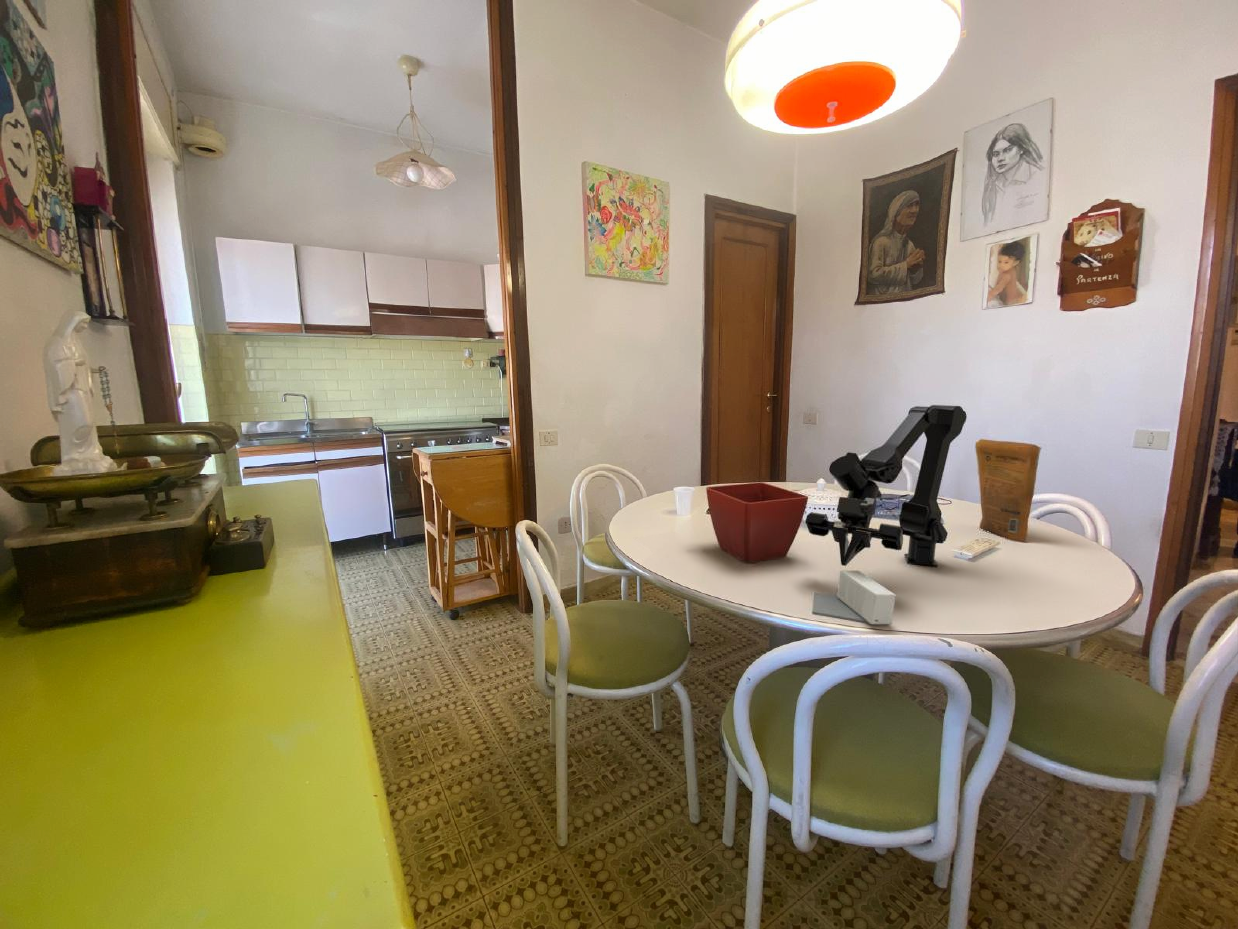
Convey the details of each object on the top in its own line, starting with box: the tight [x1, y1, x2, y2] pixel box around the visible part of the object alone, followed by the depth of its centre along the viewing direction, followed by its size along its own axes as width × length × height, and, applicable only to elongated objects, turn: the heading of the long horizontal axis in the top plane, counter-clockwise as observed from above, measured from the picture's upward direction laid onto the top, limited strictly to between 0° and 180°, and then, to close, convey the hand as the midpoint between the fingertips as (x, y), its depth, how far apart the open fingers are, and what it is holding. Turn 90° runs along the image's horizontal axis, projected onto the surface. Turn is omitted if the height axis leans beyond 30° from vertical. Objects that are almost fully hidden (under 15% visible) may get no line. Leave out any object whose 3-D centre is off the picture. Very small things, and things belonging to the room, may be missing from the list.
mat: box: [812, 591, 870, 624], centre depth 98 cm, size 10×11×1 cm
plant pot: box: [705, 482, 809, 563], centre depth 129 cm, size 19×19×17 cm
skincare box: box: [836, 569, 897, 625], centre depth 96 cm, size 6×4×12 cm
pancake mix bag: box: [974, 438, 1042, 543], centre depth 143 cm, size 7×19×28 cm, turn 5°
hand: (843, 564), depth 102 cm, fingers closed
